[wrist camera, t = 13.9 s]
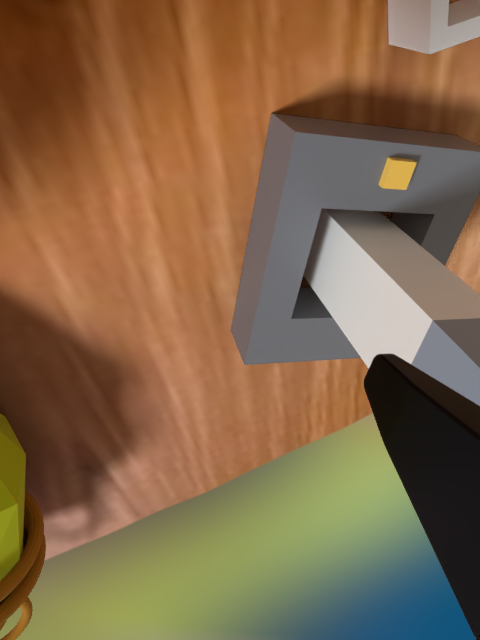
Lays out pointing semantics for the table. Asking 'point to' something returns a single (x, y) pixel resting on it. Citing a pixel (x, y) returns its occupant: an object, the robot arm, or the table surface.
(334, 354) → the port panel
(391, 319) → the plug
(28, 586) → the plumb bob
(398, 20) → the frame
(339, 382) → the table surface
